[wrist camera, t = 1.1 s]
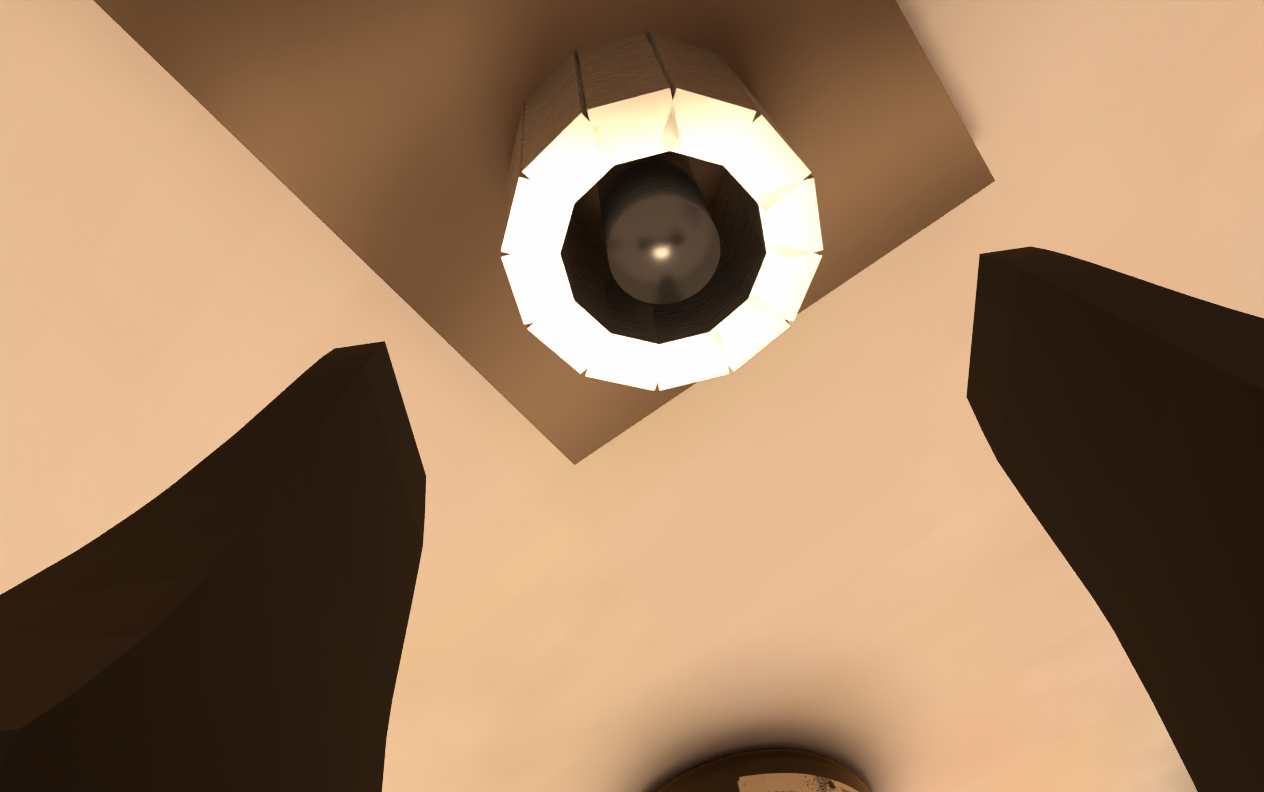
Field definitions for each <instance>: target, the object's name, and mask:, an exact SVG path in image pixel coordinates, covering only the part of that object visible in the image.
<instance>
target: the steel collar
mask: <svg viewBox="0 0 1264 792" xmlns="http://www.w3.org/2000/svg"><path fill="white" fill-rule="evenodd" d="M578 55H579V58H578V56H577V55H576V54H575V53H574V52H572V53H571V54H570V55H569V56H568V57H567V58H566V59H565V60H564V61H563V62H562V63H561V65H560V66H559V67H558V68H557V69H556V70H555V71H554V72H553V73H552V74H551V75H550V76H549V77H548V78H547V79H546V80H545V81H544V82H543V83H542V84H541V85H540V86H539V87H538V88H537V89H536V90H535V91H534V92H533V93H532V94H531V95H530V96H529V97H528V98H527V100H526V105H523V108H522V112H521V117H520V121H519V125H518V129H517V134H516V138H515V142H514V146H513V150H512V155H511V159H510V163H509V167H508V178H507V190H506V201H505V212H504V224H503V235H502V246H501V251H502V255H501V258H502V261H503V263H504V266H505V269H506V272H507V275H508V278H509V281H510V284H511V287H512V290H513V293H514V296H515V299H516V302H517V305H518V308H519V311H520V313H521V316H522V319H523V322H524V324H527V329H528V330H529V331H530V332H532V333H533V334H534V335H535V336H536V337H538V338H539V339H540V340H541V341H542V342H543V343H545V344H546V345H547V346H548V347H549V348H551V349H552V350H553V351H554V352H555V353H557V354H558V355H559V356H560V357H561V358H562V359H564V360H565V361H566V362H567V363H568V364H570V365H571V366H572V367H573V368H574V369H576V370H577V371H578V372H579V373H580V374H581V373H582V372H583V371H584V370H585V376H587V377H592V378H597V379H601V380H606V381H611V382H615V383H620V384H625V385H630V386H634V387H639V388H644V389H648V390H653V391H654V390H655V387H656V385H657V382H658V386H659V390H664V389H669V388H673V387H677V386H681V385H685V384H689V383H693V382H697V381H702V380H706V379H710V378H714V377H718V376H722V375H726V374H729V370H728V366H729V367H730V368H731V369H732V370H733V371H735V370H736V369H738V368H739V367H740V366H741V365H743V364H744V363H745V362H746V361H748V360H749V359H750V358H751V357H752V356H754V355H755V354H756V353H757V352H759V351H760V350H761V349H762V348H764V347H765V346H766V345H767V344H768V343H770V342H771V341H772V340H773V339H775V338H776V337H777V336H778V335H780V334H781V333H782V332H783V331H785V330H786V329H787V328H788V327H789V326H790V324H789V322H788V320H790V321H794V319H795V317H796V315H797V313H798V310H799V308H800V306H801V303H802V301H803V299H804V297H805V294H806V292H807V290H808V287H809V285H810V283H811V280H812V278H813V276H814V274H815V271H816V269H817V267H818V264H819V262H820V260H821V257H822V254H821V253H820V251H821V250H823V245H822V237H821V229H820V222H819V214H818V206H817V198H816V191H815V183H814V177H813V176H812V175H811V171H810V170H809V168H808V167H807V166H806V164H805V163H804V162H803V160H802V159H801V158H800V156H799V155H798V154H797V152H796V151H795V150H794V148H793V147H792V146H791V144H790V143H789V142H788V140H787V139H786V138H785V136H784V135H783V133H782V132H781V131H780V129H779V128H778V127H777V125H776V124H775V123H774V121H773V120H772V119H771V117H770V116H769V115H768V113H767V112H766V111H765V109H764V108H763V107H762V105H761V104H760V103H759V101H758V100H757V99H756V98H755V97H754V96H753V94H752V93H751V92H750V91H749V90H748V89H747V87H746V86H745V85H744V84H743V83H742V82H741V80H740V79H739V78H738V77H737V76H736V75H735V73H734V72H733V71H732V70H731V69H730V68H729V66H728V65H727V64H726V63H725V62H724V61H723V59H722V58H721V57H720V56H719V55H718V54H717V55H716V54H715V53H714V51H712V50H709V49H705V48H702V47H699V46H695V45H692V44H689V43H686V42H682V41H679V40H676V39H672V38H669V37H666V36H663V35H659V34H656V33H653V32H649V34H648V38H647V37H646V35H645V33H644V32H640V33H636V34H632V35H628V36H625V37H621V38H617V39H613V40H610V41H606V42H602V43H598V44H595V45H591V46H587V47H583V48H579V49H578ZM667 151H673V152H676V153H680V154H684V155H687V156H691V157H694V158H698V159H702V160H705V161H709V162H713V163H716V164H720V165H723V166H724V168H725V172H724V175H723V178H722V181H721V183H720V186H719V189H718V192H717V194H716V197H715V200H714V203H713V206H712V208H711V211H710V212H709V213H710V215H711V218H712V220H713V223H714V225H715V227H716V230H717V232H718V236H719V239H720V258H719V262H718V266H717V268H716V271H715V273H714V274H713V276H712V278H711V279H710V280H709V282H708V283H707V284H706V285H705V286H704V287H703V288H702V289H701V290H700V291H698V292H697V293H696V294H694V295H693V296H691V297H689V298H687V299H685V300H682V301H679V302H676V303H670V304H652V303H647V302H644V301H640V300H638V299H636V298H634V297H632V296H631V295H629V294H628V293H627V292H625V291H624V290H623V289H622V288H621V287H620V286H619V285H618V283H617V282H616V280H615V279H614V277H613V275H612V273H611V270H610V267H609V262H608V255H607V249H606V242H605V241H603V240H599V239H597V238H596V237H595V236H594V235H593V234H592V233H591V232H590V231H589V230H588V229H587V228H586V227H585V226H584V225H582V224H581V223H580V222H579V221H578V220H577V219H576V218H575V217H574V216H573V215H572V214H571V213H572V209H573V206H574V203H575V202H576V201H577V200H578V199H579V198H581V197H582V196H583V195H584V194H585V193H586V192H587V191H588V190H589V189H590V188H591V187H592V186H593V185H594V184H595V183H596V182H597V181H598V180H599V179H600V178H601V177H603V176H604V175H605V174H606V173H607V172H608V171H609V170H610V169H611V168H612V167H613V166H614V165H617V164H621V163H625V162H628V161H632V160H636V159H640V158H644V157H648V156H652V155H656V154H660V153H663V152H667Z"/></svg>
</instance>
